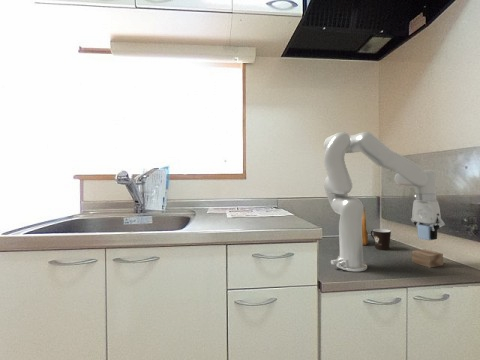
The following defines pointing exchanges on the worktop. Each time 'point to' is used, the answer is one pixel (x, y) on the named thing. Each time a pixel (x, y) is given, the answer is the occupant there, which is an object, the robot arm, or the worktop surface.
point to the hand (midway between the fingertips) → (427, 237)
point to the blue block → (424, 231)
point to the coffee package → (364, 230)
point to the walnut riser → (427, 258)
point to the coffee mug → (381, 238)
